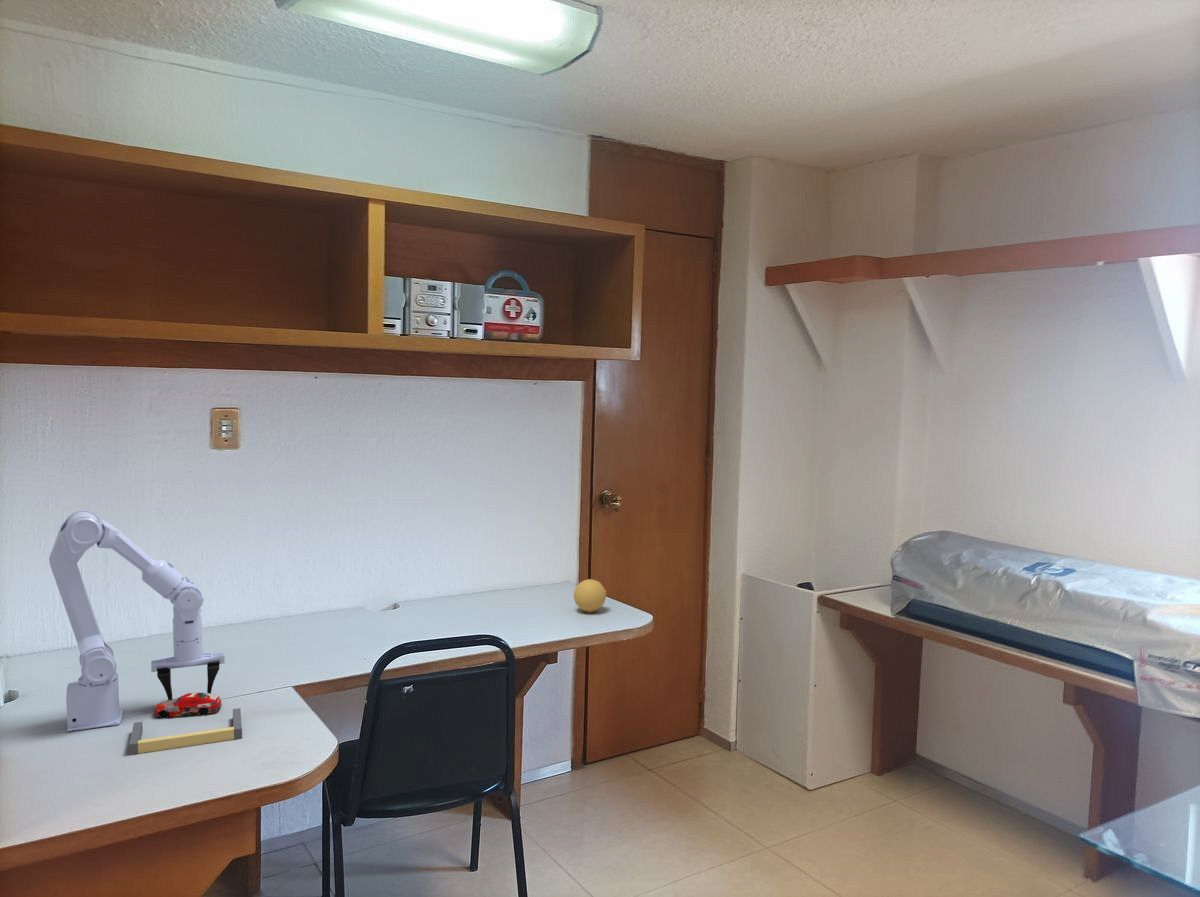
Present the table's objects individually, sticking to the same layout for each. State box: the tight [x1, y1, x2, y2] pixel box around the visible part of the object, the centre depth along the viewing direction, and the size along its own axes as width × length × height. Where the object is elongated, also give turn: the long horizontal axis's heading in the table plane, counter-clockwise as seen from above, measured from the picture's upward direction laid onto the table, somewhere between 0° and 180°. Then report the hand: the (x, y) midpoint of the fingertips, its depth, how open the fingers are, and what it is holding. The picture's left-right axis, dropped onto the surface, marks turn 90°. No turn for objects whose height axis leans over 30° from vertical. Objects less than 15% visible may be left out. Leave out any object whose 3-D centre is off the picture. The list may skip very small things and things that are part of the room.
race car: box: [153, 692, 223, 719], centre depth 189 cm, size 13×5×4 cm, turn 102°
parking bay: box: [128, 707, 243, 755], centre depth 177 cm, size 20×12×2 cm, turn 114°
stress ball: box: [573, 578, 607, 614], centre depth 270 cm, size 10×10×10 cm
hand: (189, 698), depth 193 cm, fingers open, 7 cm apart
